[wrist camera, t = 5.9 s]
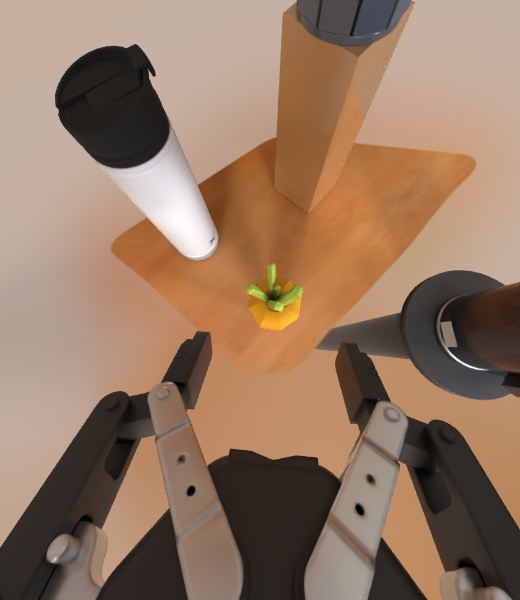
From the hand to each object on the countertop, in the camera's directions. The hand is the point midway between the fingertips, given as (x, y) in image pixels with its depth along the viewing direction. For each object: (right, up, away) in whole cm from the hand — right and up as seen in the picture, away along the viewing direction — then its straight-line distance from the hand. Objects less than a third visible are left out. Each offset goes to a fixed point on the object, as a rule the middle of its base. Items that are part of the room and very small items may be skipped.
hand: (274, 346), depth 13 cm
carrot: (+1, +1, +16) cm, 16 cm away
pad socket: (+6, +20, +20) cm, 29 cm away
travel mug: (-10, +12, +19) cm, 24 cm away
